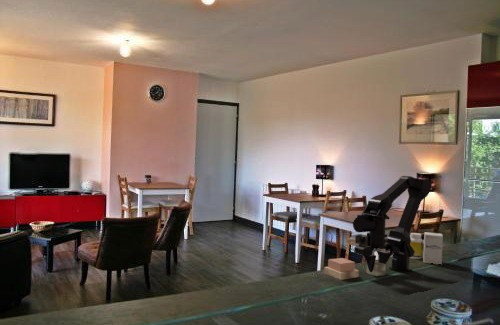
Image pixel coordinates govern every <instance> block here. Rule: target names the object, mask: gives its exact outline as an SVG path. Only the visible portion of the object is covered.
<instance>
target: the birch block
mask: <svg viewBox="0 0 500 325" xmlns="http://www.w3.org/2000/svg"><path fill="white" fill-rule="evenodd" d="M323 269H324V270H323V272H324V274H325V275H327V276H330V277H332V278H335V279H336V280H340V281H343V280H349V279H354V278H360V276H359V274H360V270H358V269H357V268H355V270H351V271H343V272H339V271H336V270H334V269H331V268H329V267H328V266H324V268H323Z"/></svg>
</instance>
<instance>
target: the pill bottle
mask: <svg viewBox="0 0 500 325" xmlns="http://www.w3.org/2000/svg"><path fill="white" fill-rule="evenodd" d="M410 238H411V243H410V245H411V247H412V248H413V250H414V251H415V252H414V256H412V257H409V259H413V260H421V258H422V259H423V254H424V239H422V233H418V232H410Z"/></svg>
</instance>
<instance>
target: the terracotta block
mask: <svg viewBox="0 0 500 325" xmlns="http://www.w3.org/2000/svg"><path fill="white" fill-rule="evenodd" d="M355 263H356V262H355V261H352V260H350V259H347V258H344V257H339V258H329V259H328V261H327V267H329V268H331V269H334V270H336V271H339V272H343V271H351V270H355V269H356V267H355V265H356V264H355Z"/></svg>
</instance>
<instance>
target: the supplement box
mask: <svg viewBox="0 0 500 325" xmlns="http://www.w3.org/2000/svg"><path fill="white" fill-rule="evenodd" d="M423 237H424V238H423V254H422V261H423V263H424V264H431V263H433V265H438V264H441V265H442V262H443V261H442V260H443V242H444V240H443V239H444V236H443V233H437V232H429V231H428V232H426V231H425V232H424V236H423ZM441 265H440V266H441Z"/></svg>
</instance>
